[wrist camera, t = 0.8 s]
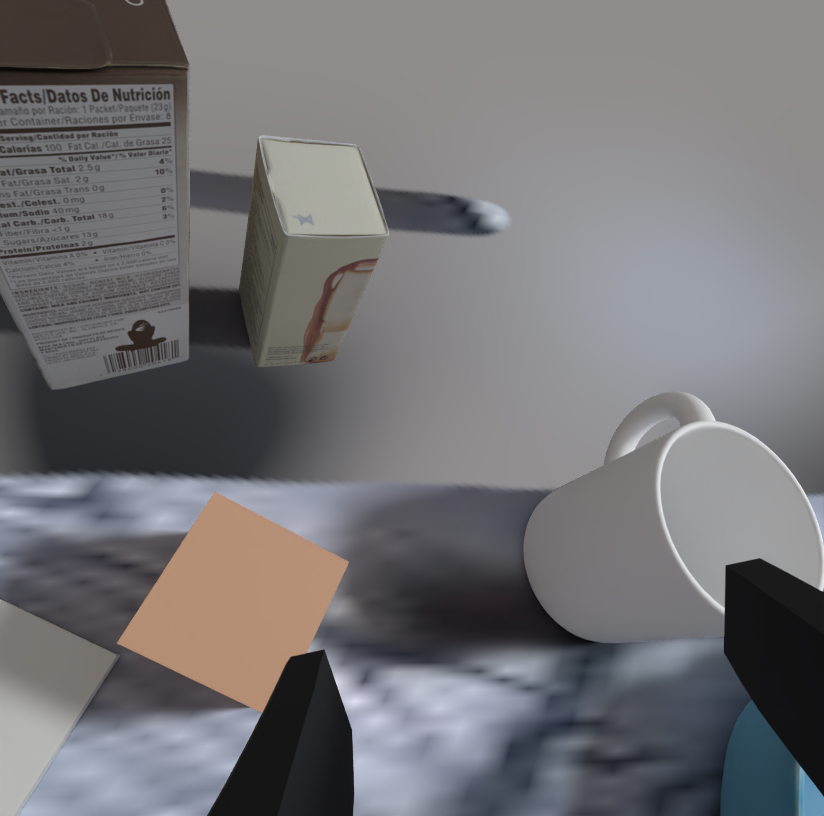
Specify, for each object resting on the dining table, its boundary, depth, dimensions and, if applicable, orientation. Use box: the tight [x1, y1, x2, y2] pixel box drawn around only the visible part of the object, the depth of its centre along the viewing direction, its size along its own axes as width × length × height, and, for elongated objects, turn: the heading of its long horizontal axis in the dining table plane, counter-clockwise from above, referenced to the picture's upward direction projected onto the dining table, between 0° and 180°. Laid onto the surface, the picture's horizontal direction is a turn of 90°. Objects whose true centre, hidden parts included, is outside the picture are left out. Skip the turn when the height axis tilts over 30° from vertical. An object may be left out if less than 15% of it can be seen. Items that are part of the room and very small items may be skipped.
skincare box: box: [239, 135, 389, 367], centre depth 26 cm, size 5×4×10 cm
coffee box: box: [0, 0, 190, 390], centre depth 20 cm, size 9×6×16 cm
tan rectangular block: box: [117, 492, 349, 713], centre depth 21 cm, size 5×5×7 cm
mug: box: [523, 392, 824, 643], centre depth 27 cm, size 12×8×10 cm
